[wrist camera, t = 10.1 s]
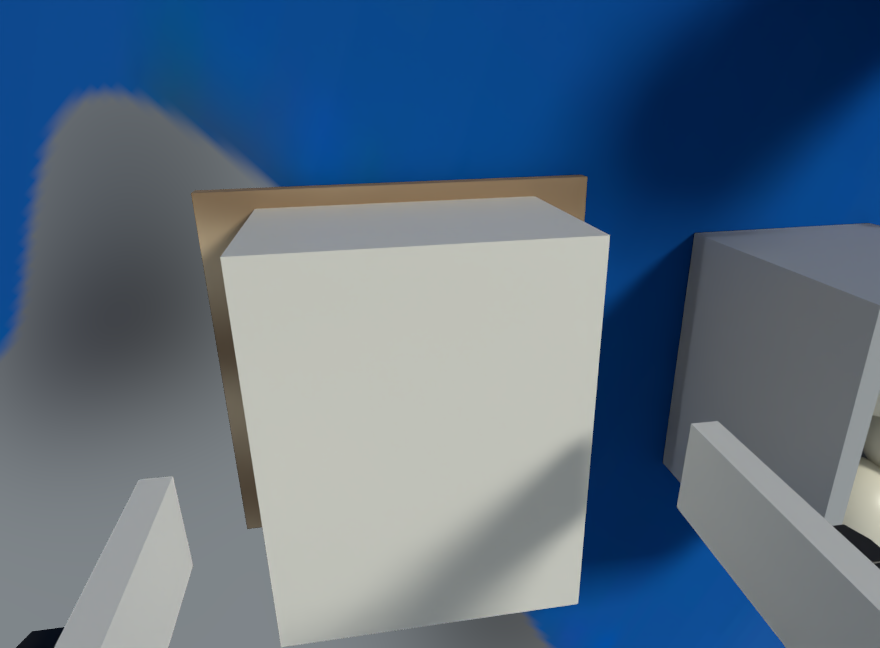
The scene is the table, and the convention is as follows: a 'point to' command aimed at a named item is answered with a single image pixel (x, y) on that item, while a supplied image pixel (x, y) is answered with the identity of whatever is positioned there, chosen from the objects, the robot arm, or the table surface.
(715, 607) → the table surface
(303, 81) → the table surface
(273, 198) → the trivet
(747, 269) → the dough box
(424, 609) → the lid
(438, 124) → the table surface
